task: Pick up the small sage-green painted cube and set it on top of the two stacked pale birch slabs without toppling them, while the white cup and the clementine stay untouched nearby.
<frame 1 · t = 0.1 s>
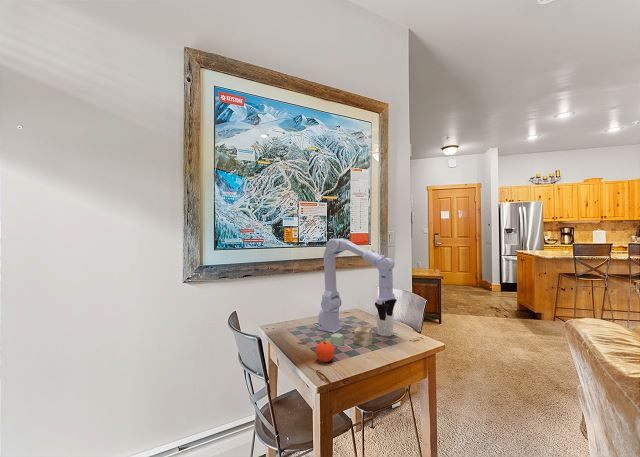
hand: (386, 317, 126), 10 cm above the table, tool pointing down, fingers open, 7 cm apart
clementine: (326, 361, 108), on the table
white cup: (385, 334, 135), on the table
slab upper: (363, 336, 125), point 3 cm above the table
cube: (337, 345, 123), on the table
slab lower: (363, 343, 125), on the table
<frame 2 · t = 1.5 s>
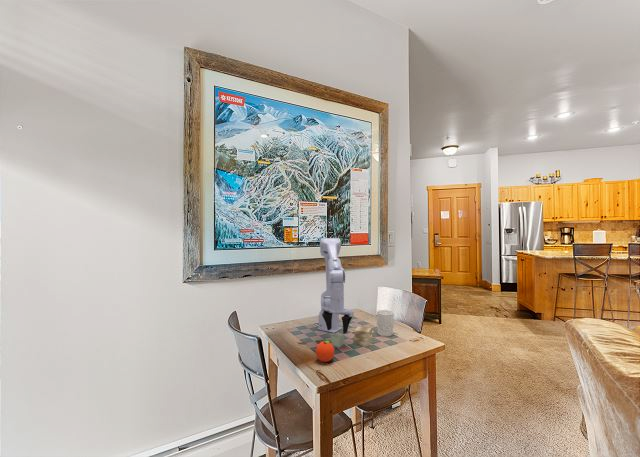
hand: (337, 331, 122), 6 cm above the table, tool pointing down, fingers open, 7 cm apart
slab upper: (363, 336, 125), point 3 cm above the table, touching slab lower
slab lower: (363, 343, 125), on the table, touching slab upper
everything else where it was.
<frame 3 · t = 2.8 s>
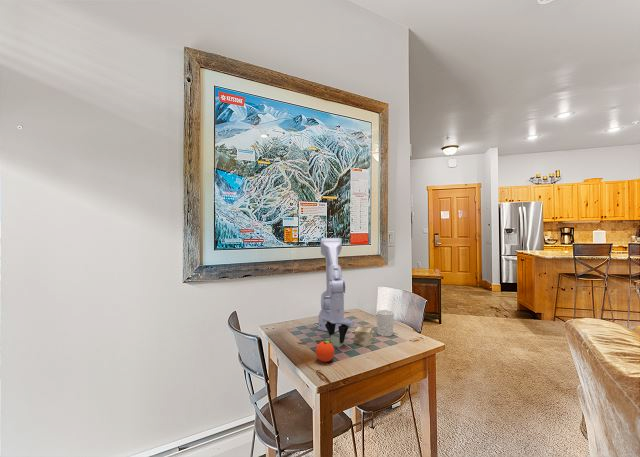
hand: (337, 341, 123), 1 cm above the table, tool pointing down, fingers closed on cube, 4 cm apart
cube: (337, 344, 123), on the table, touching gripper
everything else where it was.
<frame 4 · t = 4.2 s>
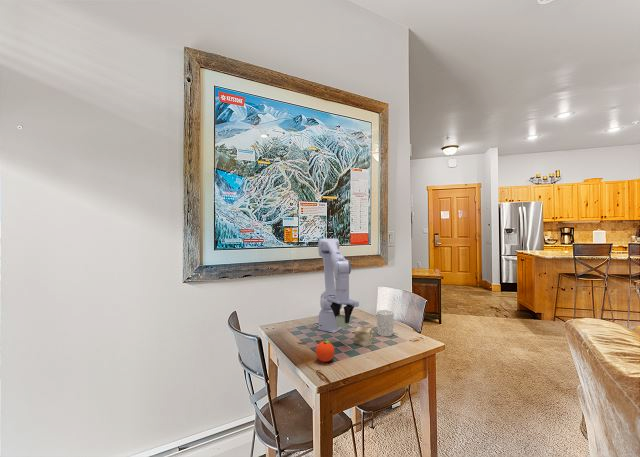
hand: (342, 321, 123), 9 cm above the table, tool pointing down, fingers closed on cube, 4 cm apart
cube: (342, 325, 123), point 8 cm above the table, touching gripper
everything else where it was.
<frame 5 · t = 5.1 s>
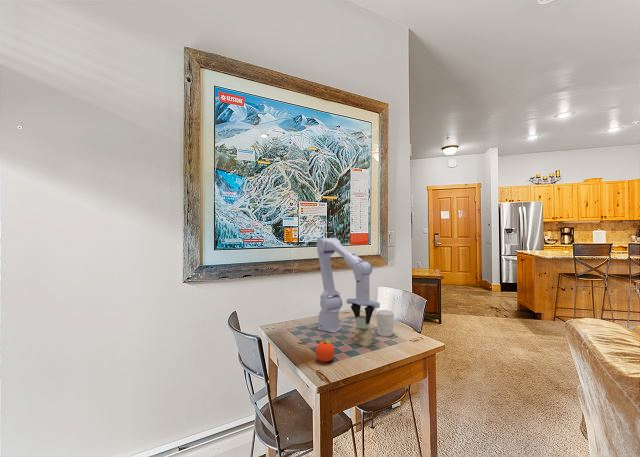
hand: (362, 322, 125), 8 cm above the table, tool pointing down, fingers closed on cube, 4 cm apart
cube: (362, 326, 125), point 7 cm above the table, touching gripper
everything else where it was.
when the fingers open (8 cm above the table, at t = 5.9 s): cube drops 1 cm, resting on slab upper.
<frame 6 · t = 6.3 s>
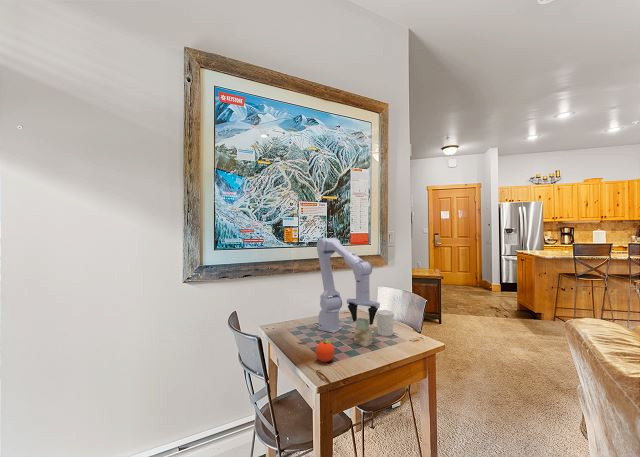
hand: (362, 322, 125), 8 cm above the table, tool pointing down, fingers open, 7 cm apart
slab upper: (363, 336, 125), point 3 cm above the table, touching cube, slab lower
cube: (362, 329, 125), point 6 cm above the table, touching slab upper
everything else where it was.
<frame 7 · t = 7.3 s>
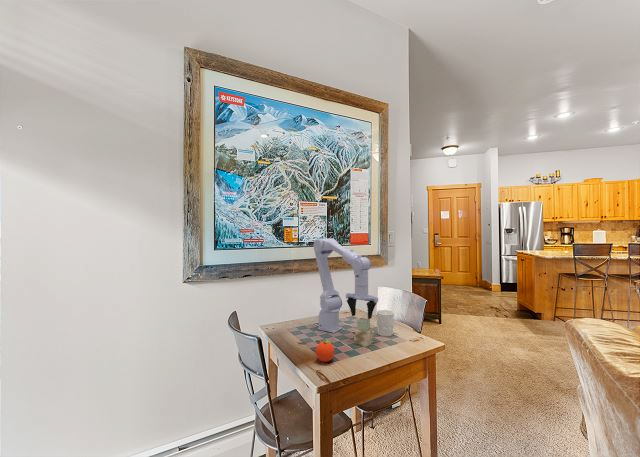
hand: (361, 316, 127), 10 cm above the table, tool pointing down, fingers open, 7 cm apart
nothing on the table moved.
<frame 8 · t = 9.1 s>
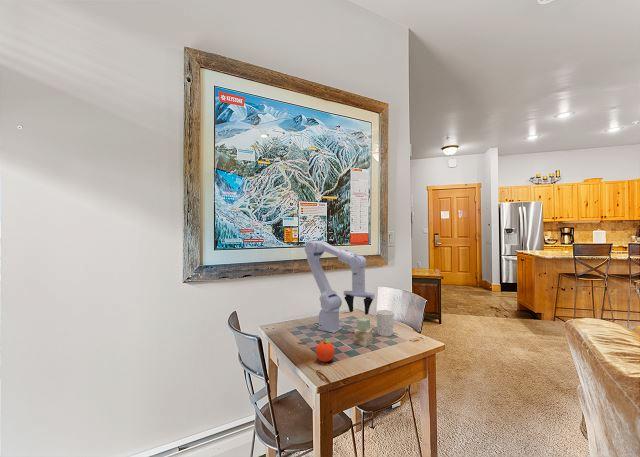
hand: (358, 312, 132), 10 cm above the table, tool pointing down, fingers open, 7 cm apart
nothing on the table moved.
at the end: cube 0.3 cm off-centre on the slab upper, point 3.0 cm above the slab upper's base; slab upper tilted 0°; the gripper is holding nothing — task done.
